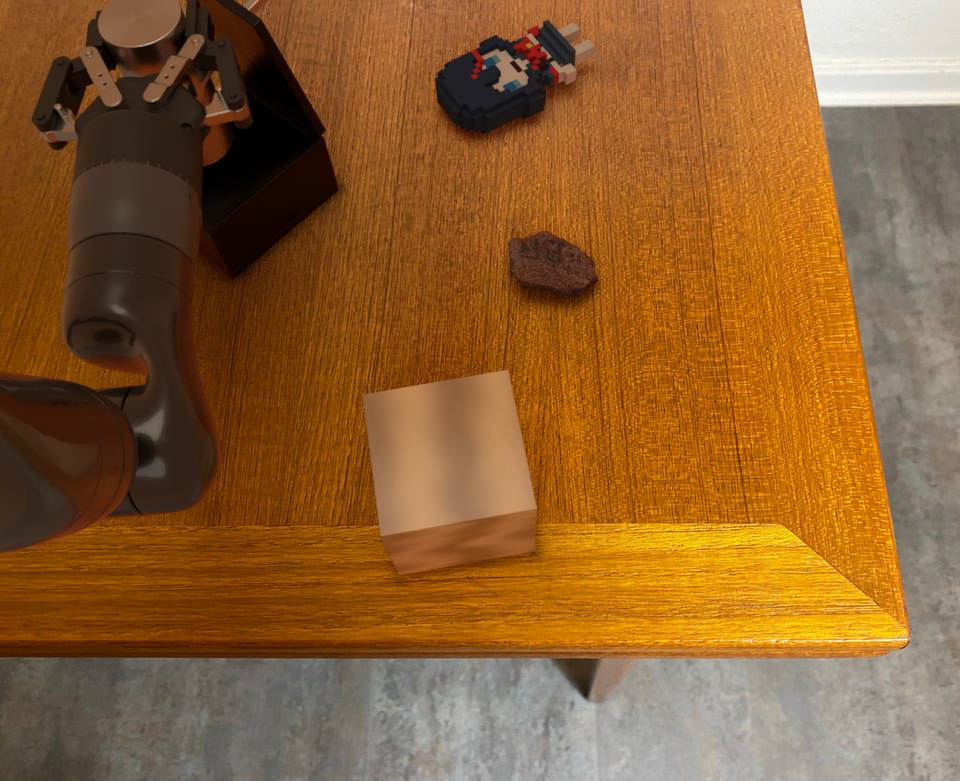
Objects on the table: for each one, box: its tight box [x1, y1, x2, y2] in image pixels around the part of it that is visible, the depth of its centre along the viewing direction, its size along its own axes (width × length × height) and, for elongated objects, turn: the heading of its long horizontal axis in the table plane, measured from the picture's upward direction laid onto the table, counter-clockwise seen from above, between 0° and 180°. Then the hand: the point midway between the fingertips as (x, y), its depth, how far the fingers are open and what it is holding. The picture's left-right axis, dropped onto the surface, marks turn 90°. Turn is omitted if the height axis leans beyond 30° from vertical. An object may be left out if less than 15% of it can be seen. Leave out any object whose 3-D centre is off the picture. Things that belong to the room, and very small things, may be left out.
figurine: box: [434, 19, 596, 135], centre depth 82 cm, size 9×4×15 cm
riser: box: [362, 369, 538, 576], centre depth 62 cm, size 10×10×10 cm
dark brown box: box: [198, 81, 340, 280], centre depth 76 cm, size 13×11×7 cm
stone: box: [507, 230, 599, 299], centre depth 73 cm, size 7×7×3 cm
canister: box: [98, 0, 234, 167], centre depth 64 cm, size 6×6×12 cm
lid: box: [185, 0, 327, 137], centre depth 68 cm, size 13×11×5 cm
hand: (152, 15), depth 62 cm, fingers closed on canister, 5 cm apart
